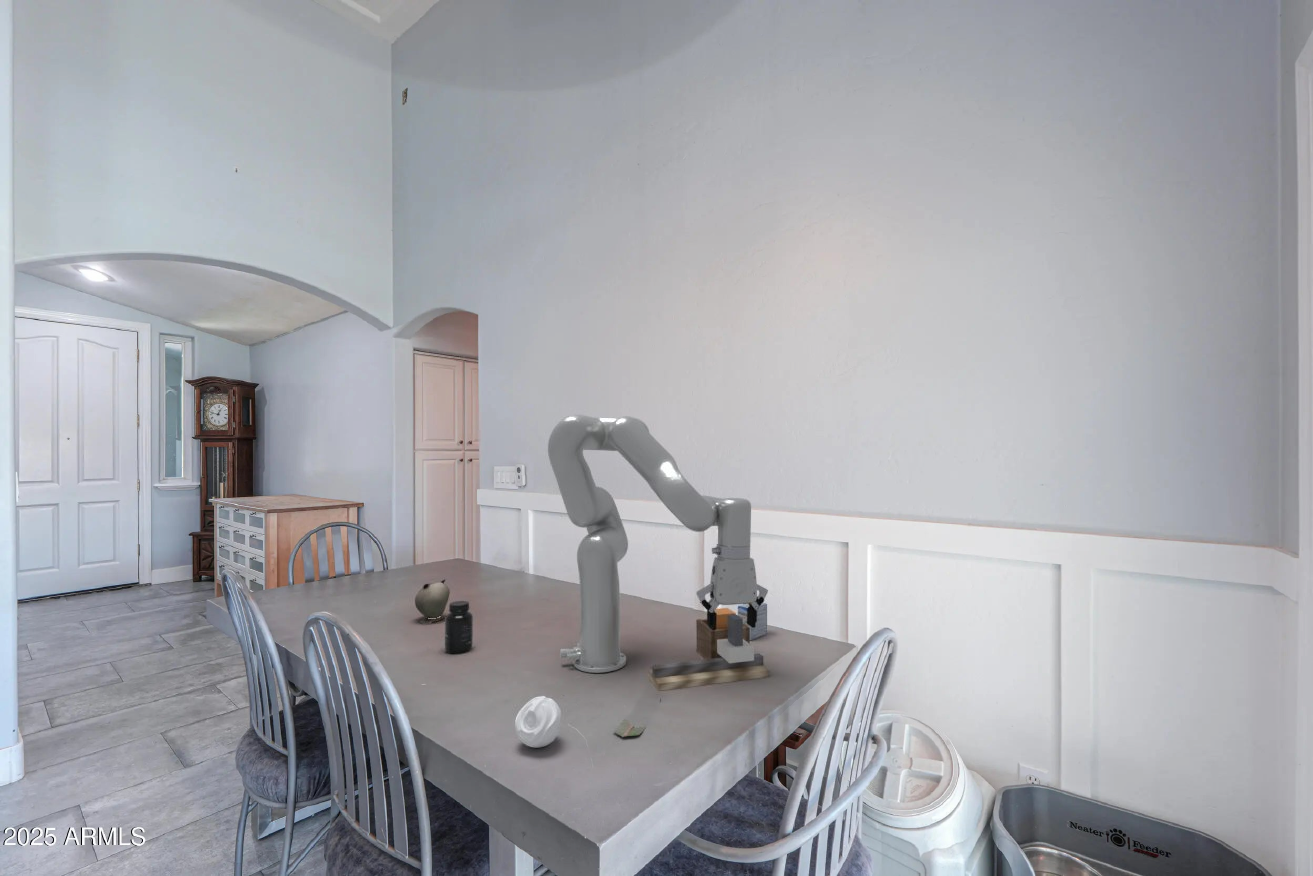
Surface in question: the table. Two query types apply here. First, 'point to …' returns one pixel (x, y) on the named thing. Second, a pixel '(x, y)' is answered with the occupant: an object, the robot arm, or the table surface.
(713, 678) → the rail base
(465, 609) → the supplement bottle
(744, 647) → the carriage
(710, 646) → the brown wooden box
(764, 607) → the medicine box
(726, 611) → the plunger
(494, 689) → the table surface
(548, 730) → the white carved ovoid
